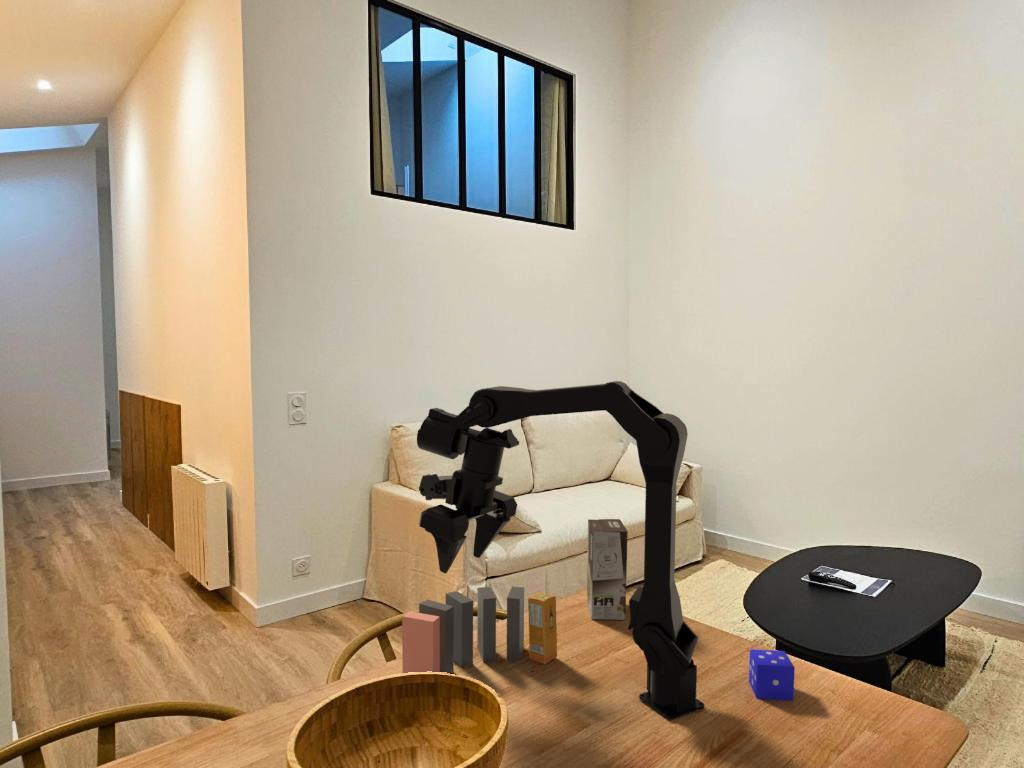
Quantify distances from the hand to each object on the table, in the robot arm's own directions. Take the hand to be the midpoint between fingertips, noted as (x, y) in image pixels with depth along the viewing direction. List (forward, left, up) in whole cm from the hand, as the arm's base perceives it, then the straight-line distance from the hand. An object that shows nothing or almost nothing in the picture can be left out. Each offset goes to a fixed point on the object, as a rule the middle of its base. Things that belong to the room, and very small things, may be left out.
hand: (460, 564), depth 107 cm
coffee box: (+5, -32, -15) cm, 36 cm away
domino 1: (-4, +8, -15) cm, 18 cm away
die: (-30, -35, -16) cm, 48 cm away
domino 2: (-1, +4, -15) cm, 16 cm away
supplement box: (-6, -12, -15) cm, 20 cm away
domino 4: (0, -4, -15) cm, 16 cm away
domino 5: (-2, -9, -15) cm, 18 cm away
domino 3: (0, 0, -15) cm, 15 cm away
